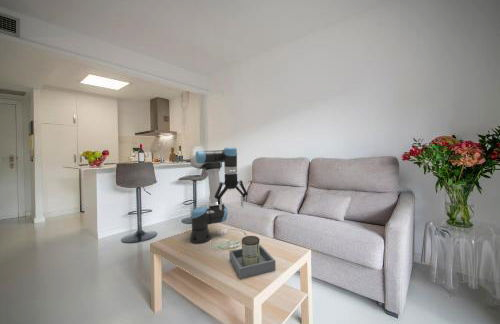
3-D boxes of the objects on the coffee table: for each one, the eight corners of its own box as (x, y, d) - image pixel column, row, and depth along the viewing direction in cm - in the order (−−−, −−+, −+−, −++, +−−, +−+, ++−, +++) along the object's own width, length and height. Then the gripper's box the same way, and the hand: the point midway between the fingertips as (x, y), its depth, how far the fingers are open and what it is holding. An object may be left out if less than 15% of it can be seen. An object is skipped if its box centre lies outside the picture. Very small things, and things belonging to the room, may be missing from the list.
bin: (229, 259, 128) (229, 250, 128) (260, 253, 135) (260, 244, 135) (240, 279, 109) (239, 268, 109) (275, 270, 116) (275, 260, 116)
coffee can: (240, 260, 125) (239, 237, 124) (256, 257, 129) (255, 234, 128) (245, 269, 116) (244, 244, 115) (262, 265, 119) (262, 241, 118)
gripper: (211, 175, 118) (212, 212, 120) (252, 172, 127) (252, 207, 129) (208, 173, 125) (209, 208, 127) (248, 171, 134) (248, 203, 136)
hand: (231, 208), depth 128 cm, fingers open, 13 cm apart
